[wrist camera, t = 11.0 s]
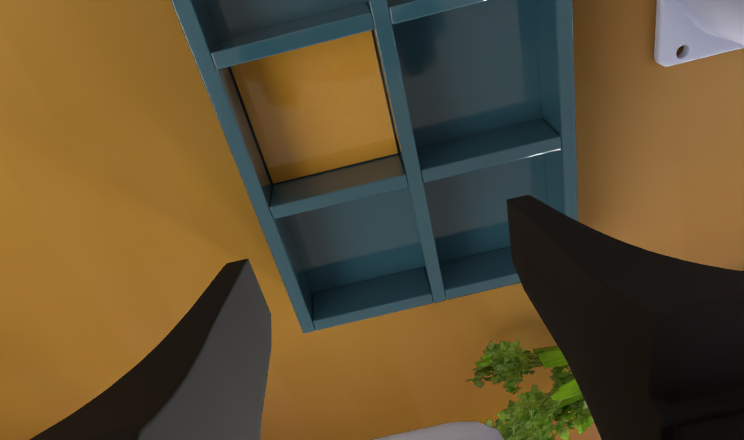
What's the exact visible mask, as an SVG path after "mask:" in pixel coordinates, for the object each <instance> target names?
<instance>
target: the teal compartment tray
mask: <svg viewBox="0 0 744 440" xmlns="http://www.w3.org/2000/svg"><path fill="white" fill-rule="evenodd" d="M171 2H172V4H173V7H174V9H175V12H176V14H177V17H178V19H179V22H180V24H181V27H182V30H183V32H184V35H185V37H186V40H187V42H188V45H189V47H190V50H191V52H192V55H193V57H194V60H195V62H196V65H197V67H198V70H199V72H200V75H201V77H202V80H203V82H204V85H205V87H206V90H207V92H208V95H209V97H210V100H211V102H212V105H213V107H214V110H215V112H216V115H217V117H218V120H219V122H220V125H221V127H222V130H223V133H224V135H225V138H226V140H227V143H228V145H229V148H230V150H231V153H232V155H233V158H234V160H235V163H236V165H237V168H238V170H239V173H240V175H241V178H242V180H243V183H244V185H245V188H246V190H247V193H248V195H249V198H250V200H251V203H252V205H253V208H254V210H255V213H256V215H257V218H258V220H259V223H260V225H261V228H262V230H263V233H264V235H265V238H266V241H267V243H268V246H269V248H270V251H271V253H272V256H273V258H274V261H275V263H276V266H277V268H278V271H279V273H280V276H281V278H282V281H283V283H284V286H285V288H286V291H287V293H288V296H289V298H290V301H291V303H292V306H293V308H294V311H295V313H296V316H297V318H298V321H299V323H300V326H301V328H302V331H303V333H308V332H312V331H315V329H316V330H320V329H325V328H329V327H333V326H337V325H342V324H346V323H350V322H355V321H359V320H363V319H367V318H372V317H376V316H380V315H384V314H389V313H393V312H397V311H402V310H406V309H410V308H414V307H419V306H423V305H427V304H431V303H433V301H434V303H437V302H441V301H445V300H446V299H447V300H449V299H453V298H457V297H461V296H466V295H470V294H474V293H478V292H483V291H487V290H491V289H496V288H500V287H504V286H508V285H513V284H517V283H521V281H520V279H519V276H518V274H517V271H516V269H515V267H514V264H513V262H512V256H511V245H510V234H509V223H508V212H507V201H506V200H507V199H512V198H516V197H520V196H525V195H530V196H532V197H534V198H536V199H538V200H540V201H541V202H543V203H545V204H547V205H549V206H550V207H552V208H554V209H556V210H557V211H559V212H561V213H563V214H565V215H567V216H568V217H570V218H572V219H574V220H576V221H578V193H577V157H576V120H575V84H574V47H573V11H572V0H171Z"/></svg>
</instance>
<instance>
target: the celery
mask: <svg viewBox="0 0 744 440" xmlns="http://www.w3.org/2000/svg"><path fill="white" fill-rule="evenodd" d="M515 343H516V344H515ZM519 344H520V342H519V341H518V340H517V341H515V342H513V343H512V344H511V343H509V342H508V343H507V342H505V341H502V342H501V341H500V344H494V343H493V342H492V341H490V342H489V344H488V347H486V348H487V350H484V351H483V352H484V353H487V355H484V357H480V358H481V359H482V360H484V362H483V361H477V362H475V364H476V366H477V367H479V368H475V369H473V370H475V371H477V370H478V371H477V372H475V375H477V376H476V377H474V379H468V380H467V381H470V380H473V382H475V381H476V382H475V383H474V384H475V385H476V386H477V387H482V386H483V385H484V382H482V381H481V379H482V378H483V379H485V381H491V380H490V379H492V380H493V384H495V383H500V382H501V381H505V384H504V387H503V388H508V389H507V390H506V392H509V393H512V392H513V391H514V390H515V392H513V394H515V393H517V392H518V389H521V388H522V387H519V388H518V386H517V388H516V387H515V384H516V383H517V381H519V382H518V383H520V382H521V381H523V380H522V377H523V376H522V374H527V375H528V372H529V370H530V369H531V368H533V367H540V366H542V365H543V366H544V368H550V367H555V368H553V370H551V372H553V373H554V374H553V375H552V376H551V377H550V378H552V380H554V381H555V383H554V384H553V386H554V387H553V388H552V389H551V390H552V391H551V392H549V393H548V394H546V395H545V396H543V395H544V394H545V393H544V391H543V390H542V391H541V392H539V390H538V389H537V386H536V385H534V386H532V388H531V391H530V392H526V394H525V393H524V394H523V393H521V394H520V395H518V397H519V400H518V401H517V402H513V401H511V400H509V404H508V409H504V410H502V411H501V412H500V413H499V412H498V413H497V415H498V416H499V417H500V419H497V420H496V422H495V423H496V427H494V426H493V423H492V422H493V421H492V420H488V419H487V420H486V423H485V425H487V426H489V427H492V428H495V429H497V430H499V432H500V434H501V435H502V437H503V439H504V440H525V439H526V440H539V439H540V440H554V437H555V436H556V434H557V432H559V437H561V439H564V440H569V437H570V435H569V433H568V432H569V430H568V429H567V428H565V427H564V424H565V426H568V427H569V429H571V430H572V429H574V427H573V426H574V425H575V427H576V428H577V431H578V434H582V433H581V431H582V432H585V430H586V428H588V427H587V426H591V424H592V423H593V422H594V420H593V418H592V416H591V413H590V411H589V409H588V406H587V404H586V402H585V400H584V397H583V395H582V393H581V391H580V389H579V386H578V384H577V382H576V380H575V378H574V376H573V373H572V371H570V370H569V369H568V368H567V367H568V366H569V365H568V363H567V361H566V359H565V357H564V355H563V354H562V352H561V350H560V348H559V347H558V346H553V347H545V348H537V349H533V350H534V352H535V353H529V352H530V351H527V350H525V351H524V348H521V349H520V345H519ZM494 345H496V346H494ZM499 347H500V348H499ZM515 347H516V348H517V349H516V348H515ZM500 349H501V350H500ZM502 349H503V350H502ZM527 354H528V355H527ZM535 356H537V357H535ZM532 357H534V358H532ZM524 360H527V361H528V362H527V361H524ZM532 360H533V361H532ZM529 361H531V362H529ZM556 366H561V367H556ZM562 366H565V367H562ZM564 368H567V369H568V370H569V371H568V372H566V371H565V370H564ZM480 369H482V370H480ZM527 369H528V371H526V370H527ZM488 371H493V372H494V373H492V372H491V373H490V372H488ZM534 372H535V371H530V374H533V373H534ZM570 372H571V373H572V374H569V373H570ZM491 374H492V375H494V374H495V375H494V376H495V377H494V376H492V378H491V377H488V378H484V376H483V375H485V376H490V375H491ZM480 377H481V378H480ZM479 378H480V379H479ZM509 378H511V379H509ZM533 389H534V390H533ZM535 394H538V395H535ZM520 400H521V401H520ZM548 402H549V403H548ZM523 405H525V406H523ZM568 406H569V407H568ZM568 411H571V412H570V413H567V412H568ZM575 413H576V414H575ZM574 414H575V415H574ZM575 416H576V418H575ZM572 417H573V419H574V420H572V419H571V418H572ZM553 418H554V421H558V422H557V424H556V425H554V424H553V423H552V422H553V421H552V420H553ZM564 419H565V420H564ZM566 420H567V421H568V422H566ZM573 421H574V423H573ZM503 422H504V423H505V424H502V423H503ZM566 423H567V424H566ZM500 425H501V426H500ZM498 426H500V427H498ZM554 426H556V427H555V428H553V427H554ZM551 427H552V429H551V430H550V428H551ZM498 428H500V429H498ZM506 428H507V429H506ZM541 429H542V430H543V431H541ZM553 430H556V434H554V435H553V433H552V437H553V438H552V437H551V436H550V435H549V434H550V433H551V432H552V431H553Z"/></svg>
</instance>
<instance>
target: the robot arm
mask: <svg viewBox="0 0 744 440" xmlns="http://www.w3.org/2000/svg"><path fill="white" fill-rule="evenodd" d="M682 45H683V51H682V52H681V53H680V54H679V55H676V52H677V50H678V48H679V47H681V46H682ZM741 48H744V0H657V7H656V27H655V46H654V59H655V61H656V62H657V63H658V64H660V65H663V66H672V65H676V64H680V63H684V62H688V61H692V60H696V59H700V58H704V57H708V56H712V55H716V54H720V53H724V52H728V51H733V50H737V49H741ZM506 201H507V212H508V223H509V234H510V245H511V256H512V262H513V264H514V267H515V269H516V271H517V274H518V276H519V279H520V281H521V283H522V286H523V288H524V290H525V292H526V293H527V295H528V297H529V299H530V300H531V302H532V304H533V305H534V307H535V309H536V310H537V312H538V314H539V315H540V317H541V319H542V320H543V322H544V324H545V325H546V327H547V329H548V330H549V332H550V333H551V335H552V337H553V338H554V340H555V342H556V343H557V345H558V347H559V348H560V350H561V352H562V354H563V355H564V357H565V359H566V361H567V363H568V365H569V367H570V369H571V371H572V373H573V376H574V378H575V380H576V382H577V384H578V386H579V389H580V391H581V393H582V395H583V397H584V400H585V402H586V404H587V406H588V409H589V411H590V413H591V416H592V418H593V420H594V422H595V425H596V427H597V429H598V432H599V434H600V437H601V439H602V440H744V271H737V270H730V269H724V268H719V267H713V266H708V265H702V264H698V263H693V262H688V261H684V260H680V259H676V258H672V257H669V256H665V255H661V254H658V253H654V252H651V251H648V250H645V249H642V248H639V247H636V246H633V245H630V244H628V243H625V242H622V241H620V240H617V239H615V238H612V237H610V236H608V235H605V234H603V233H601V232H599V231H596V230H594V229H592V228H590V227H588V226H586V225H584V224H582V223H580V222H578V221H576V220H574V219H572V218H570V217H568V216H567V215H565V214H563V213H561V212H559V211H557V210H556V209H554V208H552V207H550V206H549V205H547V204H545V203H543V202H541V201H540V200H538V199H536V198H534V197H532V196H530V195H525V196H520V197H516V198H512V199H507V200H506ZM270 353H271V313H270V311H269V308H268V306H267V303H266V301H265V298H264V296H263V293H262V291H261V289H260V286H259V284H258V281H257V279H256V276H255V274H254V272H253V269H252V267H251V264H250V262H249V259H244V260H240V261H236V262H231V263H227V264H226V265H225V266H224V267H223V268H222V270H221V271H220V272H219V273H218V275H217V276H216V277H215V278H214V280H213V281H212V282H211V284H210V285H209V286H208V288H207V289H206V290H205V291H204V293H203V294H202V295H201V296H200V298H199V299H198V300H197V301H196V303H195V304H194V305H193V306H192V308H191V309H190V310H189V311H188V313H187V314H186V315H185V316H184V317H183V318H182V319H181V320H180V322H179V323H178V324H177V325H176V326H175V327H174V328H173V330H172V331H171V332H170V333H169V334H168V335H167V336H166V337H165V338H164V339H163V340H162V341H161V343H160V344H159V345H158V346H157V347H156V348H154V349H153V350H152V351H151V352H150V353H149V354H148V355H147V356H146V357H145V358H144V359H143V360H142V361H141V362H140V363H138V364H137V365H136V366H135V367H134V368H133V369H131V370H130V371H129V372H128V373H126V374H125V375H124V376H123V377H122V378H120V379H119V380H118V381H117V382H115V383H114V384H113V385H112V386H111V387H109V388H108V389H107V390H105V391H104V392H103V393H101V394H100V395H99V396H97V397H96V398H94V399H93V400H92V401H90V402H89V403H87V404H86V405H84V406H83V407H82V408H80V409H79V410H77V411H76V412H74V413H73V414H71V415H70V416H68V417H67V418H65V419H63V420H62V421H60V422H58V423H57V424H55V425H53V426H52V427H50V428H48V429H47V430H45V431H43V432H42V433H40V434H38V435H37V436H35V437H34V438H32V439H30V440H260V432H261V420H262V412H263V405H264V397H265V390H266V383H267V376H268V369H269V361H270ZM371 440H504V439H503V437H502V435H501V434H500V432H499V430H497V429H494V428H492V427H489V426H487V425H484V424H482V423H479V422H476V421H468V422H450V423H446V424H441V425H436V426H432V427H427V428H422V429H418V430H413V431H408V432H404V433H399V434H395V435H390V436H385V437H381V438H376V439H371Z"/></svg>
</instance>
